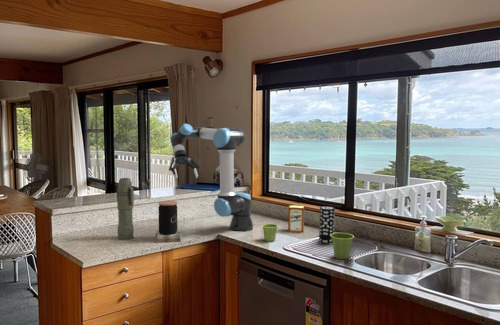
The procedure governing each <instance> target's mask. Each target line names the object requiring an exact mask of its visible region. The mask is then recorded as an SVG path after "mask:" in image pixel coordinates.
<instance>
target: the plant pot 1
mask: <svg viewBox="0 0 500 325" xmlns="http://www.w3.org/2000/svg"><path fill="white" fill-rule="evenodd" d="M261 227H262V230H263V236H264V237H263V238H264V241H266V242H274V240H275V241H276V237H277V230H278V227H279V225H278V224H276V223H275V224H274V223H265V224H262V225H261Z"/></svg>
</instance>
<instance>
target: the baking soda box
mask: <svg viewBox="0 0 500 325" xmlns="http://www.w3.org/2000/svg"><path fill="white" fill-rule="evenodd" d="M287 225H288V226H287V232H288V231H289V232H288V233H300V232H303V233H304V231H305V205H289V206H288V223H287Z"/></svg>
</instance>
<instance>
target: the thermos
mask: <svg viewBox="0 0 500 325" xmlns="http://www.w3.org/2000/svg"><path fill="white" fill-rule="evenodd" d="M117 185H118V186H117V187H116V203H117V206H116V208H117V210H118V211H117V212H118V215H117V216H118V217H117V218H118V225H117V239H118V240H120V241H122V240H123V241H127V240H132V239H134V233H135V232H134V231H135V230H134V229H135V228H134V224H133V223H134V222H133V209H134V204H135V203H134V200H135V197H134V194H135V193H134V192H135V190H134V187H133V186H132V185H133V182H132V180H131V178H129V177H121V178H119V180H118V183H117Z"/></svg>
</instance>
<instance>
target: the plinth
mask: <svg viewBox="0 0 500 325" xmlns="http://www.w3.org/2000/svg"><path fill="white" fill-rule="evenodd" d="M154 240H155V241H154V242H155V244H159V243H180V242H181V233H180V231H179V229H177V232H176V233H175V234H172V235H162V234H160V233H159V230H157V231H156V232H155V238H154Z"/></svg>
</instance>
